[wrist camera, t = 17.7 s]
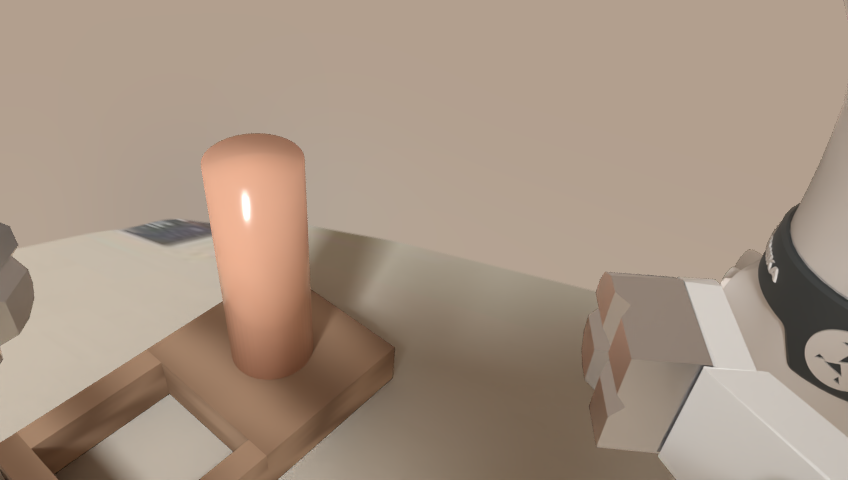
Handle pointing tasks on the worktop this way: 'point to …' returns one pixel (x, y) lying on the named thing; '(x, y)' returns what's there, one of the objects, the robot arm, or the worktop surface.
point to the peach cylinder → (261, 251)
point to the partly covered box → (217, 398)
